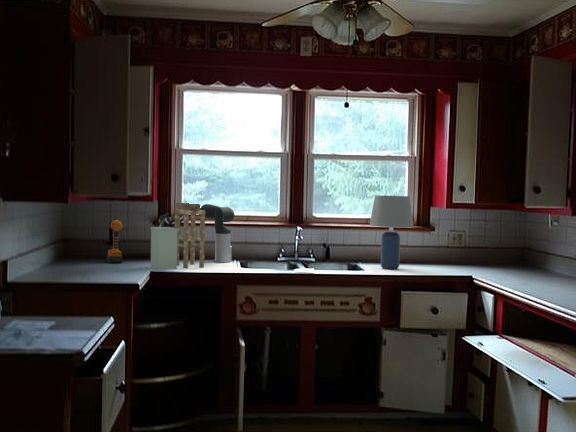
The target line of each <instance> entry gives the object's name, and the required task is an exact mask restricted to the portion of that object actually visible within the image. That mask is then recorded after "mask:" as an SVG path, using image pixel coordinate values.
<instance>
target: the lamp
mask: <svg viewBox="0 0 576 432" xmlns="http://www.w3.org/2000/svg"><path fill="white" fill-rule="evenodd" d="M373 199H374V200H373V204H372V205H373V206H372V208H371V209H372V211H371V215H370V222H369V226H371V227H382V228H388V231H383V233H382V235H381V241H380V242H381V246H380V267H381V268H382V269H383V270H387V269H391V271H394V269H396V270H398V269H399V268H400V257H401V256H400V255H401V235H400V233H398V232H397V231H394V228H414V222H413V220H414V219H413V214H412V213H413V211H412V204H411V198H410V196H409V195H408V196H407V195H405V196H404V195H403V196H402V195H374V198H373Z"/></svg>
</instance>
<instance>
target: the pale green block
mask: <svg viewBox="0 0 576 432" xmlns="http://www.w3.org/2000/svg"><path fill="white" fill-rule="evenodd" d="M177 231H178V229H177V228H171V227H159V226H153V227H150V232H151V233H150V267H151V266H152V267H151V268H153V267H154V268H153V269H156V270H161V269H163V270H177V269H178V268H177V267H178V265H177Z"/></svg>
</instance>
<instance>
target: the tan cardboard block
mask: <svg viewBox="0 0 576 432" xmlns="http://www.w3.org/2000/svg"><path fill="white" fill-rule="evenodd" d="M200 206H201V204H200V203H199V204H189V203H186V202H175V209H183V210H191V211H200Z"/></svg>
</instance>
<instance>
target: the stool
mask: <svg viewBox="0 0 576 432" xmlns="http://www.w3.org/2000/svg"><path fill="white" fill-rule="evenodd" d="M180 214H183V219H184V220H183V235H180V226H181V223H180ZM190 214H191V215H190ZM196 214H200V217H199V219H200V220H199V237H196V218H197V217H196ZM205 214H206V211H204V210H200V211H191V210H183V209H176V208H175V209H174V216H175V228H177V229H178V231H177V266H180V247H181V248H183V254H182V256H183V258H182V260H183V262H182V268H183V269H184V268H186V269H188V268H189V265H192V266H193V265H196V264H195V263H196V262H195V259H196V253H195V252H196V247H198V248H199V258H198V259H199V260H198V261H199V262H198V263H199V268H200V269H203V268H205V237H206V235H205V234H206V231H205V230H206V218H205ZM189 219H190V220H189ZM189 225H190V226H189ZM189 228H190V229H189ZM189 230H190V235H189ZM180 239H183V244H182V243H180ZM196 241H199V243H196ZM189 242H190V244H189ZM189 245H190V248H189ZM189 250H190V253H189Z"/></svg>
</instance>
